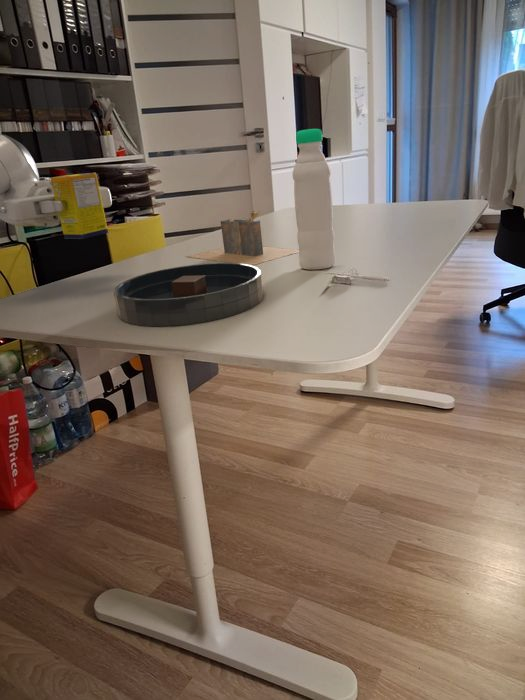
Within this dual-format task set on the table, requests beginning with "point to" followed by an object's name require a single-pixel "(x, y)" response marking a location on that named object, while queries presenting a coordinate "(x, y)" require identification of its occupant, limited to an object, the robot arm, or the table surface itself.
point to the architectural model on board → (243, 244)
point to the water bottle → (313, 203)
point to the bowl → (164, 310)
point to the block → (189, 286)
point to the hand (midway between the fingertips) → (82, 202)
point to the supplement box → (80, 205)
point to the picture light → (349, 277)
